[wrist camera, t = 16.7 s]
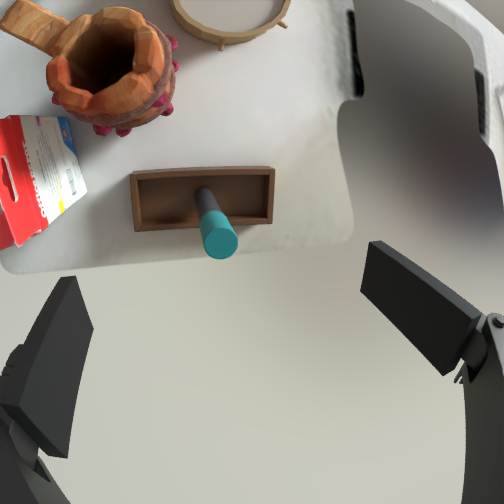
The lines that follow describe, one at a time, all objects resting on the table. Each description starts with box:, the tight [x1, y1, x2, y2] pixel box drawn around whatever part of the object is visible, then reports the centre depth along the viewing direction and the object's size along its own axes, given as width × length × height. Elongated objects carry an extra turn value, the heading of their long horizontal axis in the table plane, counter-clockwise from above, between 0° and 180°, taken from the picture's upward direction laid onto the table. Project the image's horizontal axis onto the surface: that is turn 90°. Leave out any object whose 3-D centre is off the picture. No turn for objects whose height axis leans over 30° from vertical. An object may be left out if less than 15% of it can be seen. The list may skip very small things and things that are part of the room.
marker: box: [194, 187, 238, 259], centre depth 22 cm, size 2×2×13 cm
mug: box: [0, 0, 179, 137], centre depth 15 cm, size 15×8×15 cm, turn 51°
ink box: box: [0, 115, 87, 251], centre depth 16 cm, size 8×5×15 cm, turn 11°
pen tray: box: [130, 166, 275, 232], centre depth 27 cm, size 14×6×2 cm, turn 88°
